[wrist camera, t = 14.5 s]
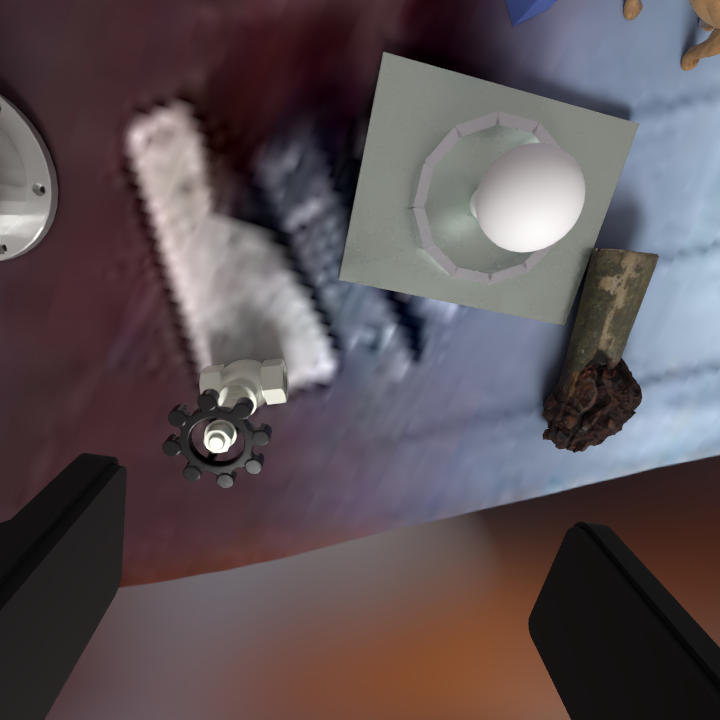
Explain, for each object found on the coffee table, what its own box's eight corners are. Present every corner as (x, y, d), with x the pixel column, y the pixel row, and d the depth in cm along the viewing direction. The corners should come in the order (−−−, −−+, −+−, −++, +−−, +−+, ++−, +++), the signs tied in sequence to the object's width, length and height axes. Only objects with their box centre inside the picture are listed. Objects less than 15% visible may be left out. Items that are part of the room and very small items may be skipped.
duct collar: (338, 277, 35) (339, 283, 32) (381, 58, 30) (387, 40, 27) (557, 322, 38) (577, 331, 35) (628, 127, 33) (658, 117, 30)
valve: (293, 404, 38) (278, 482, 27) (220, 413, 38) (174, 495, 27) (282, 335, 36) (260, 388, 25) (205, 344, 36) (148, 401, 25)
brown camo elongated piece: (581, 244, 36) (627, 248, 30) (652, 256, 37) (708, 262, 31) (525, 429, 41) (555, 460, 36) (588, 436, 42) (627, 467, 36)
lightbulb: (429, 223, 33) (477, 226, 23) (467, 145, 31) (537, 110, 21) (495, 256, 34) (568, 274, 24) (534, 183, 32) (632, 168, 22)
